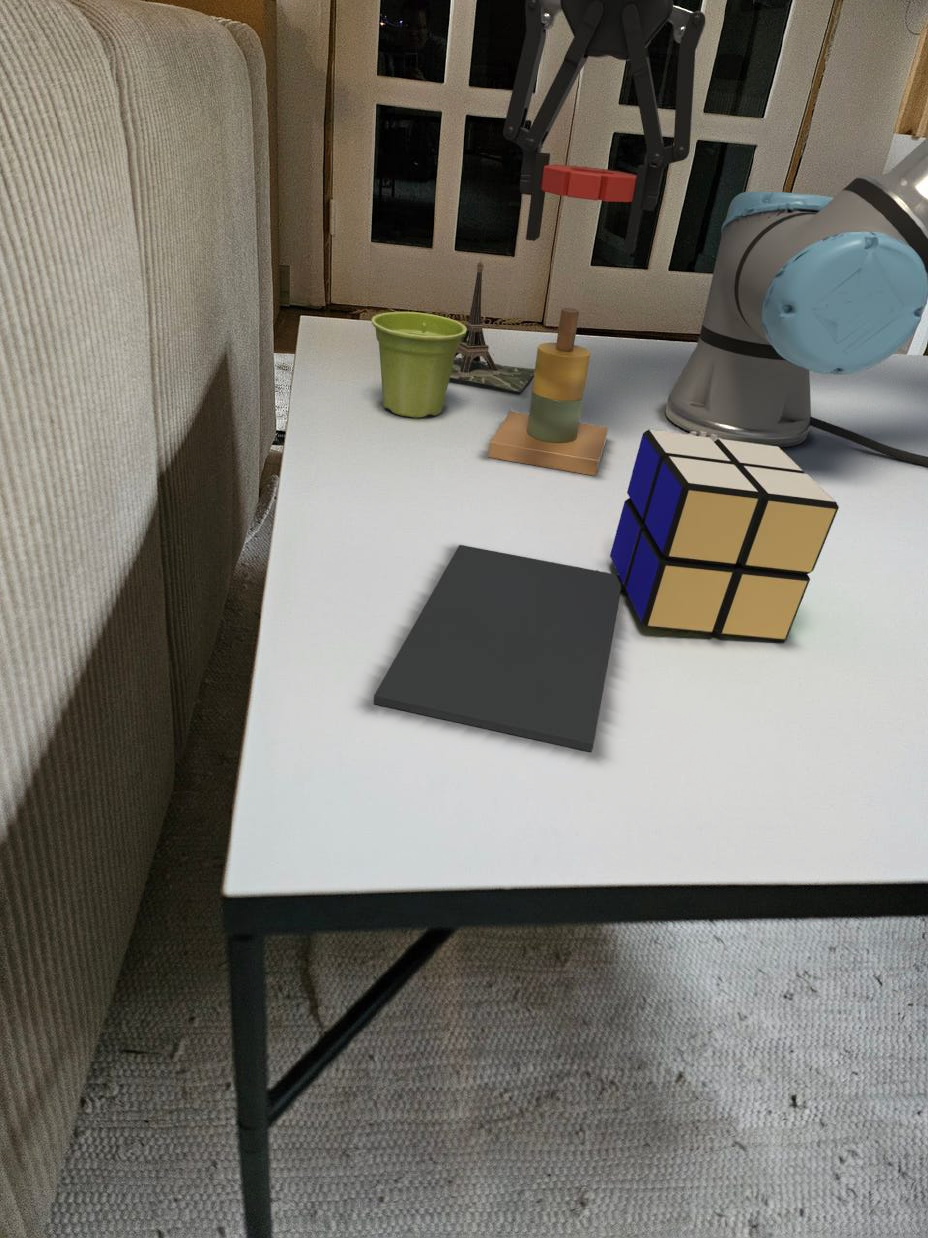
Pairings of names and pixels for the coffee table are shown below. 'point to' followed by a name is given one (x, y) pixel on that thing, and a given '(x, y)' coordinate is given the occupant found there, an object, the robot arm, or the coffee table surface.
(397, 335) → the plant pot
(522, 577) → the slate mat
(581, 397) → the stack tower
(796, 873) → the coffee table surface
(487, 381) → the eiffel tower figurine
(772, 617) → the puzzle cube
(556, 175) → the red ring
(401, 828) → the coffee table surface
